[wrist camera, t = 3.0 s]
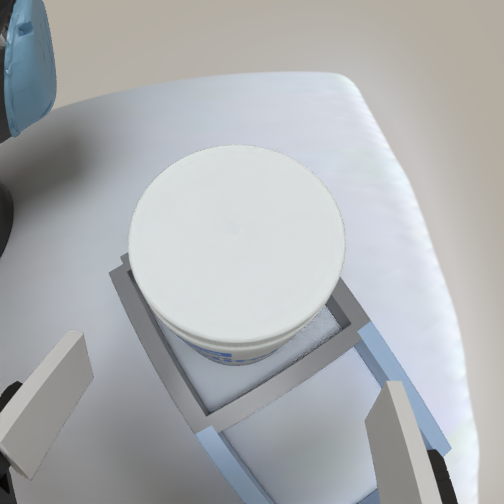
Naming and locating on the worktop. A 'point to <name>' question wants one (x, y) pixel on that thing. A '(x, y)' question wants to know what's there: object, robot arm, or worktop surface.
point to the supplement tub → (236, 250)
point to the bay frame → (269, 380)
